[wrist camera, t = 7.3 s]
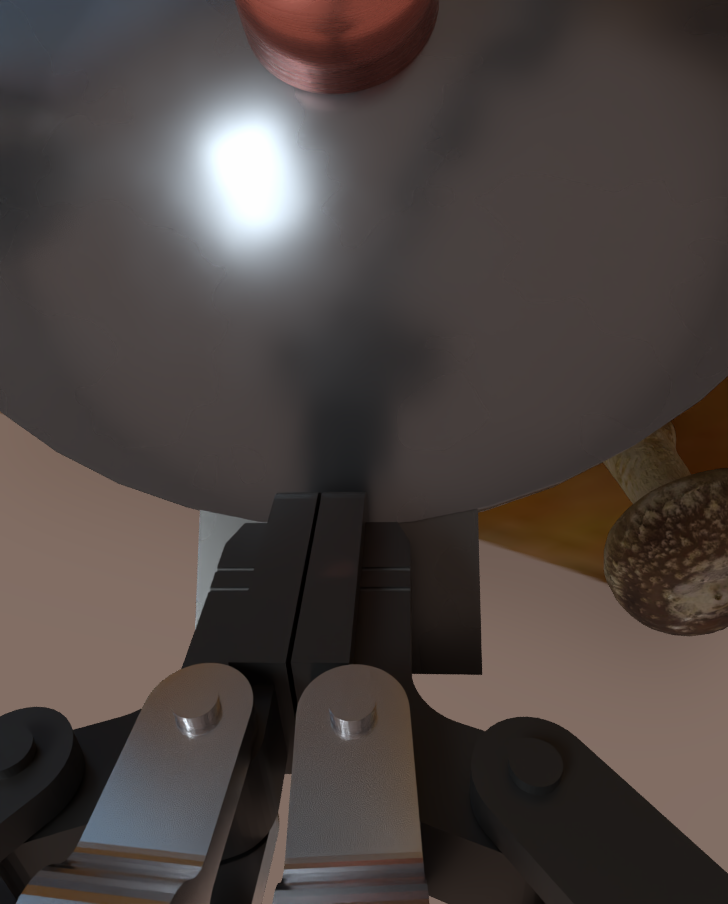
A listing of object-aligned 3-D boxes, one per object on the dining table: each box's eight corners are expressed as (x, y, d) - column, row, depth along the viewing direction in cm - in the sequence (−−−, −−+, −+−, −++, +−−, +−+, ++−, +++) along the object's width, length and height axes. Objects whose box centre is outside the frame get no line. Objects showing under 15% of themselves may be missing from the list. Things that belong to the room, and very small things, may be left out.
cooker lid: (797, -379, 16) (890, -613, 13) (936, 670, 12) (1121, 708, 9) (-58, -289, 18) (-162, -476, 14) (-179, 657, 14) (-358, 684, 10)
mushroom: (595, 327, 38) (684, 482, 26) (734, 371, 39) (886, 540, 27) (527, 460, 43) (573, 644, 31) (651, 496, 44) (746, 688, 32)
